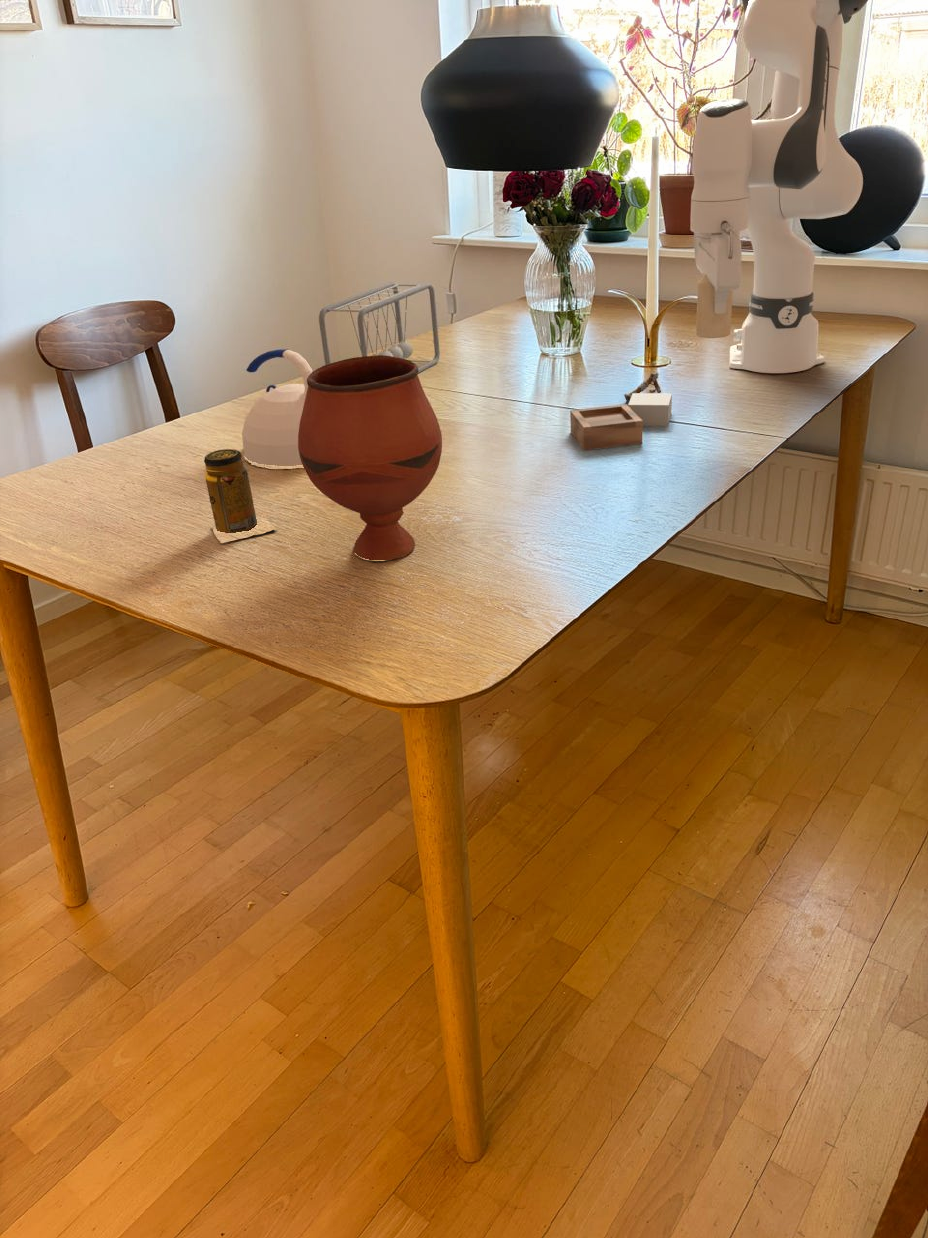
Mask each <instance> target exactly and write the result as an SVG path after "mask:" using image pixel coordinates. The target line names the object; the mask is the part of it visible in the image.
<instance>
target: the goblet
mask: <svg viewBox="0 0 928 1238" xmlns="http://www.w3.org/2000/svg"><path fill="white" fill-rule="evenodd" d="M409 360H410V359H407V358H406V359H403V358H398V357H392V356H385V355H378V354H377V355H374V356H372V355H367V356H365V357H362V356H355V357H350V358H346V359H342V360H339V361H334V362H332V363H331V362H330V364H328V365H325V364H324V365H322V366H320V367H318V368H316V369H315V370H312V371H313V372H312V373H311V374H310V375H309V376H308V378H307V385H308V389H307V394H306V398H305V402H304V407H303V411H302V415H301V419H300V424H299V432H298V450H299V455H300V459H301V462H302V464H303V467H304V468H303V469H304V471H305V473H306V475H307V477H308V478H309V480H310V482H311V483H312V484H313V485H314V487H316V489H317V490H319V491H320V493H322V494H323V495H324V496H325V497H327V498H328V499H330V500H331V501H332V502H334V503H336V504H338V505H339V506H341V507H343V508H345V509H348V510H349V511H351V512H354V513H358V514H359V517H360V520H362V521H363V522H365V524H366V525H365V526H364V528H363V530H362V531H361V533H360V534H359V536H358V537H357V539H356V540H355V542H354V545H353V549H354V550H353V552H355V553H356V554H357V555H358V556H360V557H362V558H365V559H369V560H388V561H393V560H392V559H394V560H397V559H396V558H398V559H401V558H403V556H404V557H406V556H408V555H409V554H410V552H411V551H412V550H413V549H414V550H415V546H416V543H415V539H414V538H413V536H412V535H411V534H410V532H408V531H407V530H406V528H404V526H402V525H401V524H400V522H399V521H400V519H401V518H402V516H403V515H404V513H405V512H404V509H403V508H404V507H406V506H408V505H409V504H410V503H412V502H414V501H415V500H416V499H417V498H418V497H420V496H421V494H422V493H423V492H424V491H425V490H426V488H427V487H428V486H429V485H430V483H431V481H432V480H433V478H434V476H435V475H436V472H437V471H438V469H439V466H440V461H441V457H442V452H443V435H442V430H441V428H440V427H441V426H440V424H439V421H438V417H437V415H436V414H435V410H434V409H433V407H432V404H431V403H430V401H429V399H428V397H427V396H426V393H425V391H424V388H423V386H422V384H421V380H420V377H419V375H418V374H419V373H418V365H417V363H416V362H411V361H409ZM414 550H413V551H414ZM413 551H412V552H413ZM412 552H411V553H412ZM355 553H354V554H355ZM407 554H408V555H407ZM405 555H406V556H405ZM358 556H357V557H358ZM400 557H401V558H400Z"/></svg>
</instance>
